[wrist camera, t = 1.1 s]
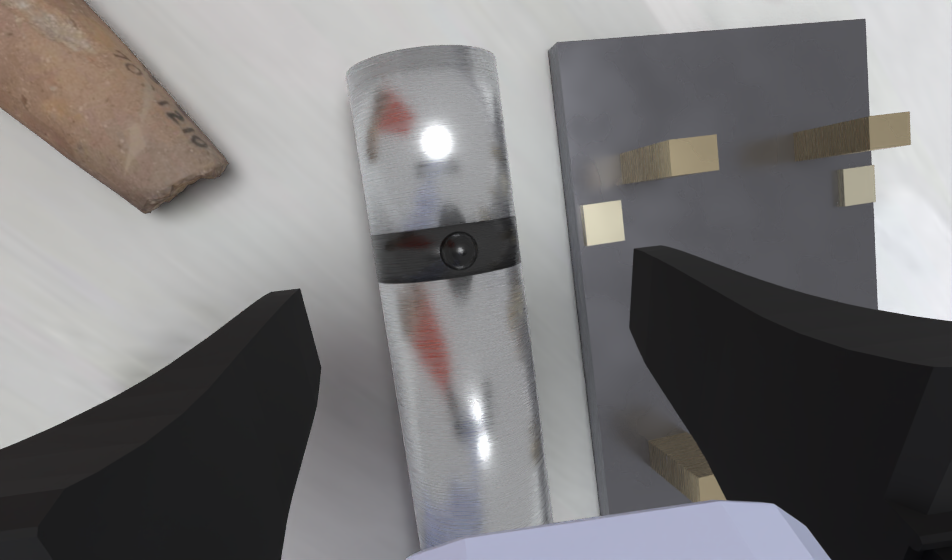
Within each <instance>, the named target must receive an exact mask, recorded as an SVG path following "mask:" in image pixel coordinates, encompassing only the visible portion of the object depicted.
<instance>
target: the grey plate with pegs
mask: <svg viewBox="0 0 952 560" xmlns="http://www.w3.org/2000/svg"><path fill="white" fill-rule="evenodd" d="M548 53H549V62H550V71H551V79H552V88H553V97H554V106H555V115H556V124H557V133H558V142H559V150H560V159H561V168H562V177H563V186H564V195H565V204H566V212H567V221H568V230H569V239H570V248H571V257H572V266H573V274H574V283H575V292H576V301H577V310H578V319H579V328H580V337H581V345H582V354H583V363H584V372H585V381H586V390H587V399H588V407H589V416H590V425H591V434H592V443H593V452H594V461H595V470H596V478H597V487H598V496H599V505H600V514H601V516H605V515H612V514H619V513H626V512H633V511H639V510H646V509H653V508H660V507H667V506H674V505H680V504H687V503H694V502H701V501H708V500H726V498H725V496H724V494H723V492H722V490H721V488H720V486H719V484H718V482H717V480H716V478H715V476H714V474H713V472H712V470H711V468H710V466H709V464H708V462H707V461H706V459H705V457H704V455H703V454H702V452H701V450H700V448H699V447H698V445H697V443H696V442H695V440H694V439H693V437H692V436H691V434H690V432H689V431H688V429H687V428H686V426H685V425H684V423H683V422H682V420H681V419H680V417H679V416H678V414H677V413H676V411H675V410H674V408H673V407H672V405H671V403H670V402H669V400H668V399H667V397H666V396H665V394H664V393H663V391H662V390H661V388H660V387H659V385H658V383H657V382H656V380H655V379H654V377H653V376H652V374H651V373H650V371H649V369H648V368H647V366H646V364H645V363H644V361H643V358H642V356H641V354H640V352H639V350H638V348H637V345H636V343H635V341H634V338H633V336H632V334H631V331H630V329H629V321H630V303H631V286H632V269H633V251H634V248H642V247H650V246H659V245H663V246H667V247H671V248H675V249H678V250H681V251H684V252H687V253H690V254H692V255H695V256H698V257H700V258H703V259H706V260H708V261H711V262H714V263H716V264H719V265H722V266H724V267H727V268H730V269H732V270H735V271H738V272H741V273H743V274H746V275H749V276H752V277H755V278H758V279H760V280H763V281H767V282H770V283H773V284H776V285H779V286H782V287H785V288H789V289H792V290H795V291H799V292H802V293H806V294H809V295H813V296H817V297H821V298H825V299H829V300H834V301H838V302H842V303H846V304H850V305H855V306H860V307H865V308H870V309H875V310H878V303H877V279H876V256H875V233H874V209H873V202H876V197H875V174H874V165H872V162H871V151H872V150H879V149H886V148H892V147H899V146H906V145H911V140H910V112H902V113H893V114H885V115H876V116H870V115H869V92H868V69H867V45H866V22H865V19H856V20H843V21H830V22H817V23H804V24H791V25H778V26H765V27H752V28H739V29H726V30H712V31H699V32H686V33H673V34H660V35H647V36H634V37H621V38H608V39H595V40H582V41H569V42H557V43H556V44H555V45H554V46H553V47H552V48H551V49H550V50H549V51H548Z"/></svg>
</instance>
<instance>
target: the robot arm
mask: <svg viewBox="0 0 952 560" xmlns="http://www.w3.org/2000/svg"><path fill="white" fill-rule="evenodd" d="M629 329H630V331H631V334H632V336H633V338H634V341H635V343H636V345H637V348H638V350H639V352H640V354H641V356H642V358H643V361H644V363H645V364H646V366H647V368H648V369H649V371H650V373H651V374H652V376H653V377H654V379H655V380H656V382H657V383H658V385H659V387H660V388H661V390H662V391H663V393H664V394H665V396H666V397H667V399H668V400H669V402H670V403H671V405H672V407H673V408H674V410H675V411H676V413H677V414H678V416H679V417H680V419H681V420H682V422H683V423H684V425H685V426H686V428H687V429H688V431H689V432H690V434H691V436H692V437H693V439H694V440H695V442H696V443H697V445H698V447H699V448H700V450H701V452H702V454H703V455H704V457H705V459H706V461H707V462H708V464H709V466H710V468H711V470H712V472H713V474H714V476H715V478H716V480H717V482H718V484H719V486H720V488H721V490H722V492H723V494H724V496H725V498H726V500H708V501H701V502H694V503H687V504H680V505H674V506H667V507H660V508H653V509H646V510H639V511H633V512H626V513H619V514H612V515H605V516H598V517H592V518H585V519H578V520H571V521H564V522H557V523H551V524H544V525H537V526H530V527H523V528H516V529H510V530H503V531H496V532H489V533H482V534H475V535H469V536H464V537H461V538H458V539H455V540H452V541H449V542H446V543H443V544H440V545H437V546H434V547H431V548H428V549H425V550H422V551H419V552H416V553H413V554H412V555H411V556H409V557H408V558H406V559H405V560H952V321H944V320H937V319H930V318H923V317H916V316H909V315H904V314H898V313H892V312H887V311H881V310H875V309H870V308H865V307H860V306H855V305H850V304H846V303H842V302H838V301H834V300H829V299H825V298H821V297H817V296H813V295H809V294H806V293H802V292H799V291H795V290H792V289H789V288H785V287H782V286H779V285H776V284H773V283H770V282H767V281H763V280H760V279H758V278H755V277H752V276H749V275H746V274H743V273H741V272H738V271H735V270H732V269H730V268H727V267H724V266H722V265H719V264H716V263H714V262H711V261H708V260H706V259H703V258H700V257H698V256H695V255H692V254H690V253H687V252H684V251H681V250H678V249H675V248H671V247H667V246H663V245H659V246H650V247H642V248H634V251H633V269H632V286H631V303H630V321H629ZM320 374H321V365H320V361H319V358H318V354H317V350H316V346H315V343H314V339H313V335H312V331H311V328H310V324H309V320H308V316H307V313H306V309H305V305H304V301H303V298H302V294H301V290H300V289H292V290H284V291H275V292H270V293H268V294H267V295H265V296H263V297H262V298H260V299H259V300H257V301H256V302H255V303H253V304H252V305H250V306H249V307H248V308H246V309H245V310H244V311H242V312H241V313H240V314H238V315H237V316H236V317H235V318H233V319H232V320H231V321H229V322H228V323H227V324H225V325H224V326H223V327H221V328H220V329H219V330H217V331H216V332H215V333H213V334H212V335H211V336H209V337H208V338H207V339H205V340H204V341H202V342H201V343H199V344H198V345H196V346H195V347H194V348H192V349H191V350H189V351H188V352H186V353H185V354H184V355H182V356H181V357H179V358H178V359H176V360H175V361H173V362H172V363H171V364H169V365H168V366H166V367H164V368H163V369H161V370H160V371H158V372H156V373H155V374H153V375H152V376H150V377H148V378H147V379H145V380H143V381H142V382H140V383H138V384H136V385H135V386H133V387H131V388H129V389H128V390H126V391H124V392H122V393H121V394H119V395H117V396H115V397H113V398H111V399H109V400H108V401H106V402H103V403H101V404H99V405H97V406H95V407H93V408H91V409H89V410H87V411H85V412H83V413H81V414H79V415H77V416H75V417H73V418H71V419H69V420H67V421H65V422H63V423H61V424H59V425H57V426H55V427H52V428H50V429H48V430H46V431H43V432H41V433H39V434H36V435H34V436H32V437H29V438H27V439H25V440H22V441H20V442H18V443H15V444H13V445H10V446H8V447H5V448H3V449H0V560H281V555H282V549H283V542H284V536H285V530H286V523H287V518H288V513H289V509H290V504H291V500H292V496H293V492H294V489H295V485H296V481H297V478H298V474H299V470H300V467H301V463H302V460H303V456H304V452H305V449H306V445H307V441H308V438H309V434H310V430H311V427H312V423H313V419H314V415H315V411H316V407H317V400H318V392H319V383H320Z"/></svg>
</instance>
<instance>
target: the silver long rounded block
mask: <svg viewBox="0 0 952 560" xmlns="http://www.w3.org/2000/svg"><path fill="white" fill-rule="evenodd" d="M346 81H347V87H348V94H349V100H350V106H351V113H352V119H353V125H354V132H355V138H356V144H357V151H358V157H359V163H360V170H361V176H362V182H363V188H364V195H365V201H366V207H367V214H368V220H369V226H370V233H371V239H372V245H373V252H374V258H375V264H376V271H377V277H378V283H379V290H380V296H381V302H382V309H383V315H384V321H385V327H386V334H387V340H388V346H389V353H390V359H391V365H392V372H393V378H394V384H395V391H396V397H397V403H398V410H399V416H400V422H401V429H402V435H403V441H404V448H405V454H406V460H407V466H408V473H409V479H410V485H411V492H412V498H413V504H414V511H415V517H416V523H417V530H418V536H419V542H420V549H421V551H422V550H425V549H428V548H431V547H434V546H437V545H440V544H443V543H446V542H449V541H452V540H455V539H458V538H461V537H464V536H469V535H475V534H482V533H489V532H496V531H503V530H510V529H516V528H523V527H530V526H537V525H544V524H551V523H554V522H553V514H552V506H551V498H550V490H549V482H548V474H547V466H546V458H545V450H544V442H543V434H542V426H541V418H540V410H539V402H538V393H537V385H536V377H535V369H534V361H533V353H532V345H531V337H530V329H529V321H528V313H527V305H526V297H525V289H524V281H523V273H522V265H521V257H520V249H519V241H518V233H517V225H516V217H515V209H514V201H513V193H512V185H511V177H510V169H509V161H508V153H507V145H506V137H505V129H504V121H503V113H502V104H501V96H500V88H499V80H498V72H497V64H496V58H495V56H494V54H493V53H491V52H490V51H487V50H485V49H481V48H477V47H471V46H462V45H435V46H423V47H415V48H408V49H402V50H397V51H392V52H388V53H384V54H381V55H377V56H374V57H371V58H368V59H366V60H364V61H361V62H359V63H357V64H356V65H354V66H353V67H351V68H350V69H349V70H348V71H347V73H346Z"/></svg>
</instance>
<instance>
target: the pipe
mask: <svg viewBox="0 0 952 560" xmlns="http://www.w3.org/2000/svg"><path fill="white" fill-rule="evenodd" d="M0 108H2V109H3V110H4V111H6V112H7V113H8V114H10V115H11V116H12V117H14V118H15V119H16V120H18V121H19V122H20V123H22V124H23V125H24V126H26V127H27V128H28V129H30V130H31V131H33V132H34V133H35V134H37V135H38V136H39V137H40V138H42V139H43V140H44V141H46V142H47V143H48V144H50V145H51V146H52V147H54V148H55V149H56V150H57V151H59V152H60V153H61V154H63V155H64V156H65V157H66V158H68V159H69V160H71V161H72V162H73V163H75V164H76V165H78V166H79V167H80V168H82V169H83V170H85V171H86V172H87V173H89V174H90V175H92V176H93V177H94V178H96V179H97V180H99V181H100V182H102V183H103V184H105V185H106V186H107V187H109V188H110V189H112V190H113V191H114V192H116V193H117V194H118V195H120V196H121V197H123V198H124V199H125V200H127V201H128V202H129V203H131V204H132V205H133V206H135V207H136V208H137V209H139V210H140V211H141V212H143V213H145V214H146V213H151V211H152V210H154V209H156V208H158V207H159V206H160V205H161V204H162V203H164V202H170V201H171V200H172V199H173V198H174V197H175V196H177V194H178V193H180V192H183V190H184V189H185V188H186V187H187V186H188V184H189V185H191V184H193V183H195V182H196V181H197V180H199V179H201V178H206V179H215V178H216V177H219V176H220V175H221V173H222V172H224V170H225V168H226V166H227V165H228V164H229V163H228V162H227V160H226V159H225V158H224V156H223V155H222V154H221V153H220V152H219V151H218V149H217V148H216V147H215V146H214V145H213V143H212V142H211V141H210V140H209V139H208V138H207V137H206V135H205V134H204V133H203V132H202V131H201V130H200V129H199V128H198V127H197V125H196V124H195V123H194V122H193V121H192V120H191V119H190V118H189V117H188V115H187V114H186V113H185V112H184V111H183V110H182V109H181V108H180V106H179V105H178V104H177V103H176V102H175V101H174V99H173V98H172V97H171V96H170V95H169V94H168V93H167V91H166V90H165V89H164V88H163V87H162V86H161V85H160V84H159V82H158V81H157V80H156V79H155V78H154V77H153V76H152V74H151V73H150V72H149V71H148V70H147V69H146V68H145V67H144V65H143V64H142V63H141V62H140V61H139V60H138V59H137V58H136V56H135V55H134V54H133V53H132V52H131V51H130V50H129V49H128V47H127V46H126V45H125V44H124V43H123V42H122V41H121V40H120V39H119V38H118V37H117V35H116V34H115V33H114V32H113V31H112V30H111V29H110V28H109V27H108V26H107V25H106V24H105V23H104V22H103V21H102V20H101V18H100V17H99V16H98V15H97V14H96V13H95V12H94V11H93V10H92V9H91V8H90V7H89V6H88V5H87V4H86V3H85V2H84V1H83V0H0Z"/></svg>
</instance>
